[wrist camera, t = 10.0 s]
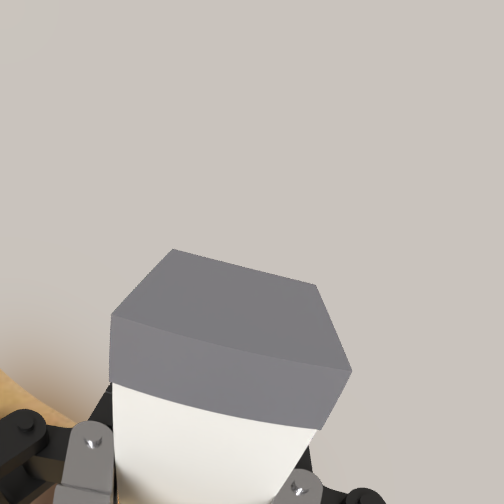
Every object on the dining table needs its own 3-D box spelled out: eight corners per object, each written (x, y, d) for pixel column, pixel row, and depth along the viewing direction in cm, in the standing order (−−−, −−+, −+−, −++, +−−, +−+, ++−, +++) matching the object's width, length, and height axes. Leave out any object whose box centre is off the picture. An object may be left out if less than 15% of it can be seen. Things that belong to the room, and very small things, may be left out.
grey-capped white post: (127, 556, 9) (111, 314, 5) (144, 497, 12) (172, 248, 9) (213, 576, 9) (352, 371, 5) (219, 515, 13) (315, 284, 9)
